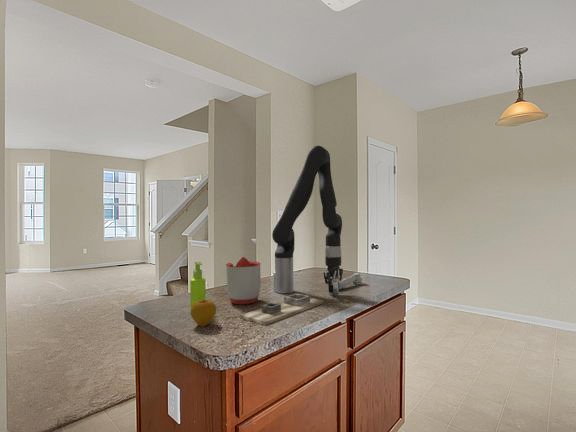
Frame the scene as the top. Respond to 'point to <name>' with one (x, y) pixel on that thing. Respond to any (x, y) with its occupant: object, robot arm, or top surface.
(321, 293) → the top surface
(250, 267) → the citrus juicer
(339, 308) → the top surface
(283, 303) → the socket board
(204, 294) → the soap dispenser
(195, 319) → the apple
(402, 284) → the top surface
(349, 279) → the grey piece
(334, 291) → the pipe fitting
